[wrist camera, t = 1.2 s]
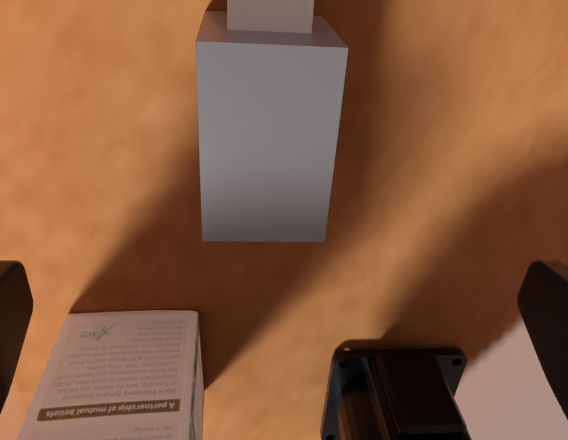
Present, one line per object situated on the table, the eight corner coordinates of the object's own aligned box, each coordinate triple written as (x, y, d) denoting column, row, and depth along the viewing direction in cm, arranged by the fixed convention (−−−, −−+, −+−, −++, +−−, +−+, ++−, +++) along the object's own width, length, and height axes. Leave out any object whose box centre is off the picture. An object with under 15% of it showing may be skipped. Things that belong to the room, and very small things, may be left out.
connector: (306, 175, 18) (324, 242, 15) (209, 174, 18) (202, 241, 14) (327, -50, 15) (359, -38, 11) (203, -58, 14) (192, -47, 10)
